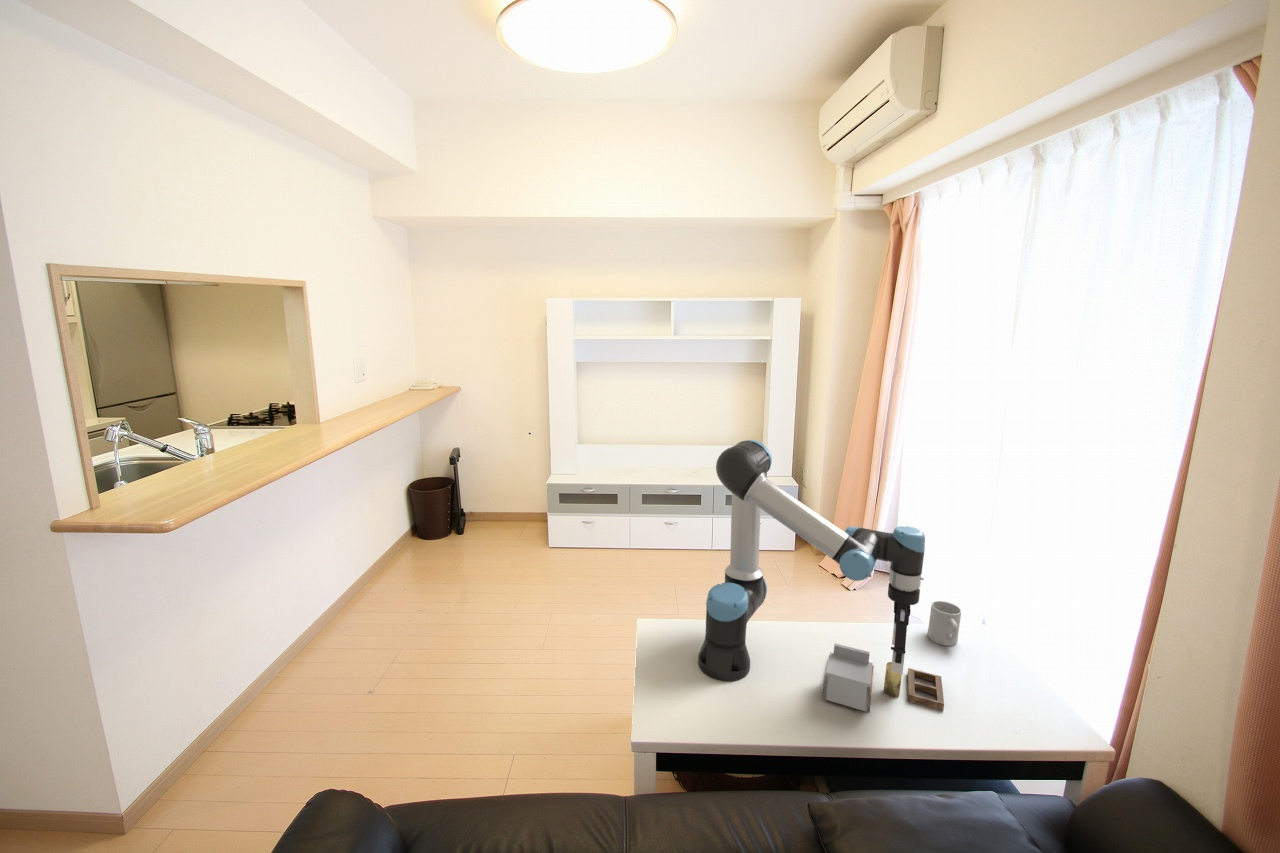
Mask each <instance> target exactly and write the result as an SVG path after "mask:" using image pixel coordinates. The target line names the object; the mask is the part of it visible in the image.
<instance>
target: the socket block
mask: <svg viewBox="0 0 1280 853" xmlns="http://www.w3.org/2000/svg"><path fill="white" fill-rule="evenodd" d="M907 701H908V702H909V703H912V704H913V703H914V704H917V705H920V706H925V707H928V708H931V709H935V710H938V711H942V712H944V708H945V700H944V688H943V681H942V676H940V675H937V674H933V673H930V672H925V671H921V670H917V669H913V668H909V667H908V668H907Z"/></svg>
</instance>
